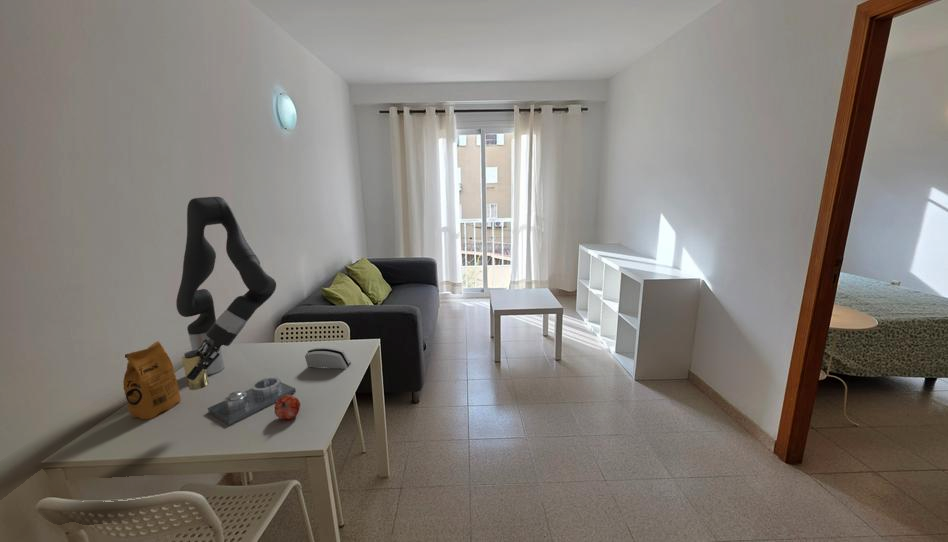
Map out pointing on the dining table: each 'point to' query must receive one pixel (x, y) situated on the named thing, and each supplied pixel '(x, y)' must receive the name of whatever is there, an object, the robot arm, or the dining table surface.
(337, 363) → the grey rounded block
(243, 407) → the fitting plate
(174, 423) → the dining table surface
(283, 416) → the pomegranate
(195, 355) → the gold and black cylinder
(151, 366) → the coffee package
